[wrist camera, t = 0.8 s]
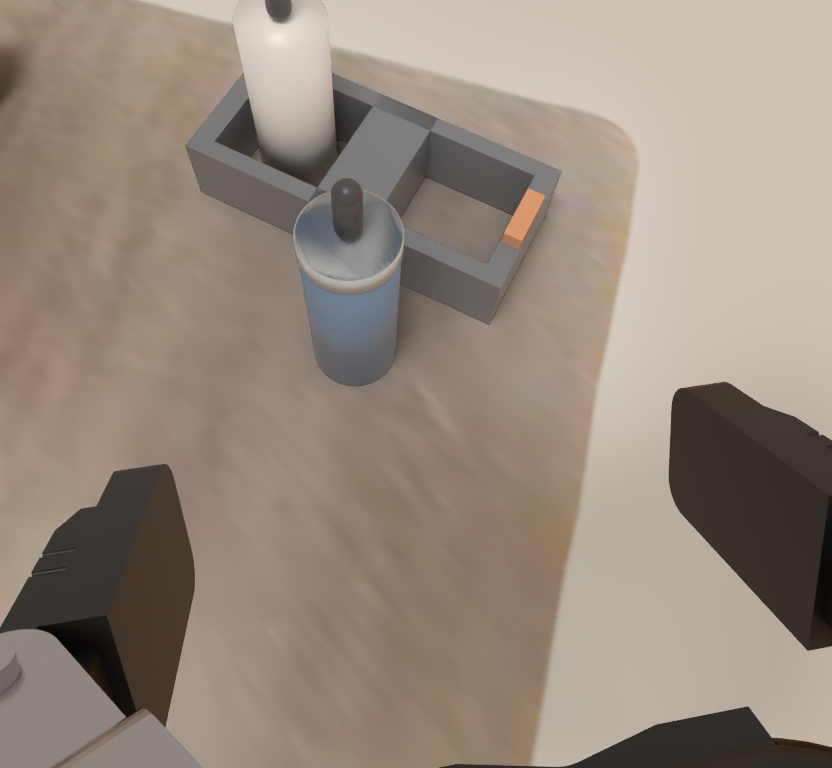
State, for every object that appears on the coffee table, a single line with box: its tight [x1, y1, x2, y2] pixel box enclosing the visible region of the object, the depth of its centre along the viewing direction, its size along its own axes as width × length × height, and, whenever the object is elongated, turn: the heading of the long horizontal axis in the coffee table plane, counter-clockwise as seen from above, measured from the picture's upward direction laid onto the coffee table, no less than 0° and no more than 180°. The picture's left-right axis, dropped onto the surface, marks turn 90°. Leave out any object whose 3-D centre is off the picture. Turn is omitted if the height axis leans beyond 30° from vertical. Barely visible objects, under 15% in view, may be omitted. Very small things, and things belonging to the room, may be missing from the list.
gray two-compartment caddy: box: [185, 0, 562, 324], centre depth 37 cm, size 19×8×14 cm, turn 64°
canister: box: [293, 178, 404, 386], centre depth 33 cm, size 4×4×14 cm
